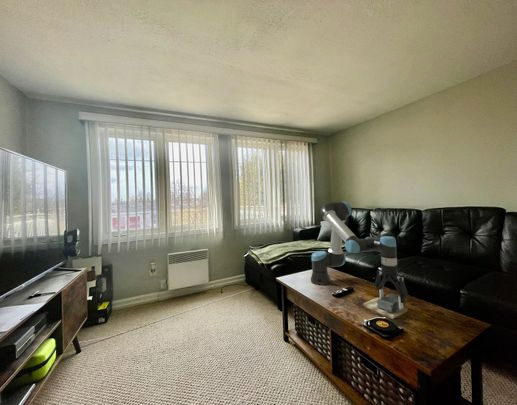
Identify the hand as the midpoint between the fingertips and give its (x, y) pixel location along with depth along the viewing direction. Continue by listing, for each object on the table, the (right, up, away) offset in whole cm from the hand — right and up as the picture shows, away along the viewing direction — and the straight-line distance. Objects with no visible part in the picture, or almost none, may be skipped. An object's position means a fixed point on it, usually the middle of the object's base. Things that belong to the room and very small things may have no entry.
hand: (391, 304), depth 116 cm
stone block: (+1, -3, +2) cm, 3 cm away
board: (-1, -4, +4) cm, 6 cm away
